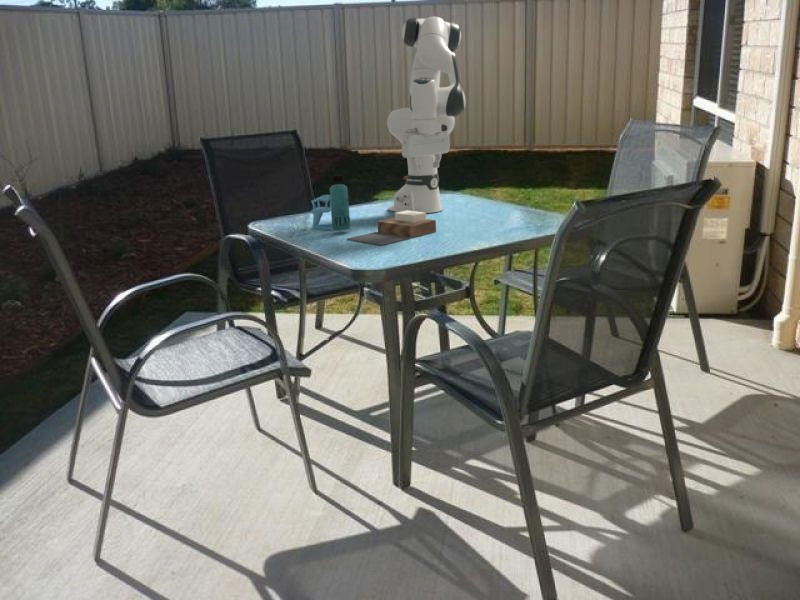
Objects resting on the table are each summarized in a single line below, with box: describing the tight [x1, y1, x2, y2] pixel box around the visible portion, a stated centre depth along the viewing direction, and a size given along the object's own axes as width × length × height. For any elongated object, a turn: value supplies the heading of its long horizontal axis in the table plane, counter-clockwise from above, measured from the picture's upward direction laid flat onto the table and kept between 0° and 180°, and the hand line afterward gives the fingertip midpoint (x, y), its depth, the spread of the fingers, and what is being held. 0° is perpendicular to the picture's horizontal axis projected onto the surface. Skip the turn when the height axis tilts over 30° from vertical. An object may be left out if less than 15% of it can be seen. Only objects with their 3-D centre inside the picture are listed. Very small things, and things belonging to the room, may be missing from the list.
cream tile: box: [394, 210, 427, 223], centre depth 280 cm, size 9×6×2 cm, turn 44°
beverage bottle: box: [329, 174, 351, 231], centre depth 283 cm, size 6×7×20 cm
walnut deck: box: [376, 216, 437, 239], centre depth 280 cm, size 16×12×4 cm
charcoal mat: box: [346, 231, 412, 247], centre depth 272 cm, size 17×13×1 cm
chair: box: [310, 194, 334, 231], centre depth 293 cm, size 8×8×12 cm
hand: (426, 169), depth 281 cm, fingers open, 8 cm apart
